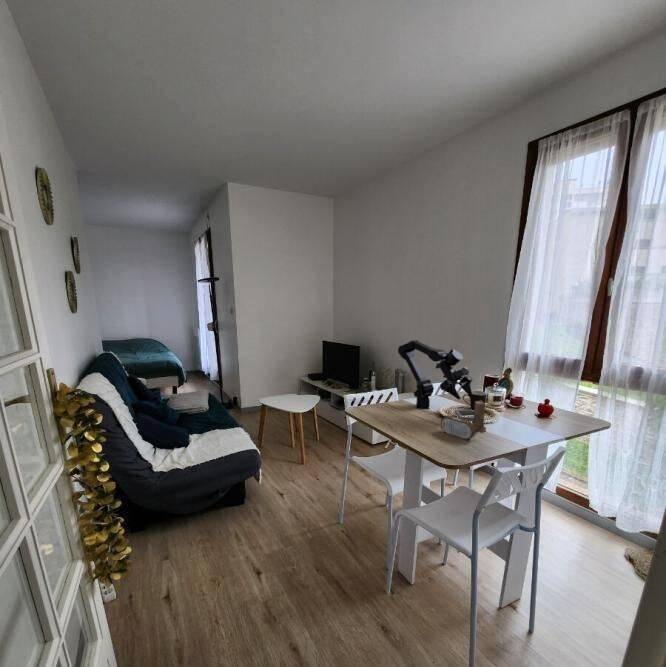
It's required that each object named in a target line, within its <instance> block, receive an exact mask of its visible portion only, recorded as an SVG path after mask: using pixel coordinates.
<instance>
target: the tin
mask: <svg viewBox="0 0 666 667" xmlns="http://www.w3.org/2000/svg"><path fill="white" fill-rule="evenodd" d="M440 427H441V429H442V431H443V433H446V434H447V435H450V436H453V437H455V438H457V439H458V438H459V439H462V440H464V439H465V440H466V441H467V440H470V439H472V438H474V436H475V435H476V431H475V427H474V425H473V424H472V423H471V422H469V421H467V420H464V419H461V418H457V417H456V416H453V415H449V414H448V415H445V416H444V417H443V418H442V419H441V420H440Z"/></svg>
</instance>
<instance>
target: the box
mask: <svg viewBox="0 0 666 667" xmlns="http://www.w3.org/2000/svg"><path fill="white" fill-rule="evenodd" d="M454 412H455V413H454V415H455V414H456V415H457V416H458V418H461V419H464V420H467V421H474V417H462V416H461V414H462V415H474V411H472V410H471V409H470V410H469V409H455V410H454Z"/></svg>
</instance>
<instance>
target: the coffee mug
mask: <svg viewBox="0 0 666 667" xmlns="http://www.w3.org/2000/svg"><path fill="white" fill-rule="evenodd" d="M471 391H472V394H473V396H472V397H471V396H469V395H468V394H467V393H465V394H464V395H462V400H463V401H464V402H465V403H466V404H467V405H469V406H470V410H471V409H472V410H474V411H475V401H478V402H483V403H484V404H485V405H486V401H487V395H488V393H487V392H485V391H482V390H471ZM465 396H468V397H469V399H470V400H469V402H470V403H469V402H468V401H466V400H465Z"/></svg>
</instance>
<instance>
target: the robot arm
mask: <svg viewBox="0 0 666 667" xmlns="http://www.w3.org/2000/svg"><path fill="white" fill-rule="evenodd" d="M415 350H417V351H419V352H420V353H423V355H424V354H425V355H426V356H428V359H429V360H431V361H432V362H437V363H436V365H435V369H436V370H437V369H440V370H441V372H442V373H443V378H444V379H445V378H446V379H445V380H444V381H442V383H441V382H440V385H439V389H441V391H443V392H446V393H447V394H449V395H451V396H453V397H454V398H456V399H457V400H461V396H460V395H459V392H458V391H457V389H456V385H459V386H460V387H461V389H462V390H463V391H464V392H465V394H468V395H469V396H471V397H472V396H473V394H472V391H473V390H472V388H471V384H472V382H473V377H472V376H471V375H469V373H470V370H469V368H468V367H466V366H464V367H462V368H461V369H455V368H454V367H455V366H457V364H459V363H460V362H461V361H462V360H463V358H464V356H463V355H462V353H461V352H459V351H458V350H456V348H453V349H450V350H449V351H448V352H446V351H445V350H443V349H440V348H434V347H431V346H429V345H427V344H424V343H423V342H421V341H419V340H410V341H408V342H407V343H404V344H402V345H399V346H398V349H397V352H398V355H399V356H400V357H401V358H402V359H403V360H405V362H406V363H407V366H408V368H409V369H410V371H411V373H412V376H413V378H414V380H415V381H416V390H415V391H414V392H413V395H414V396H413V397H415V398H416V404H415V406H416V408H417V409H421V410H422V409H424V410H429V409H430V406H431V405H430V403H431V402H430V397H432V394H433V392H434V384H433V383H432V381H431V379H429V378H428V379H426V377H425V376H424V374H423V372H422V370H421V369H420V366H419V364H418V362H417V360H416V358H415V354H414V353H415ZM469 396H468V397H469Z"/></svg>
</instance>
